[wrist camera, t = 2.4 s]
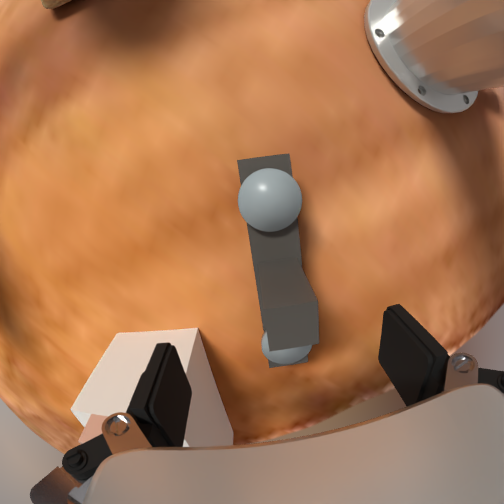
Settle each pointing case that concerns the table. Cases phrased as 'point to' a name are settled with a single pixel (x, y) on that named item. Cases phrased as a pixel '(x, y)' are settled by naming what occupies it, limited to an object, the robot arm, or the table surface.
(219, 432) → the white toy brick
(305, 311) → the bar with two balls
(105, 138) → the table surface
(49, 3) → the stone cup
